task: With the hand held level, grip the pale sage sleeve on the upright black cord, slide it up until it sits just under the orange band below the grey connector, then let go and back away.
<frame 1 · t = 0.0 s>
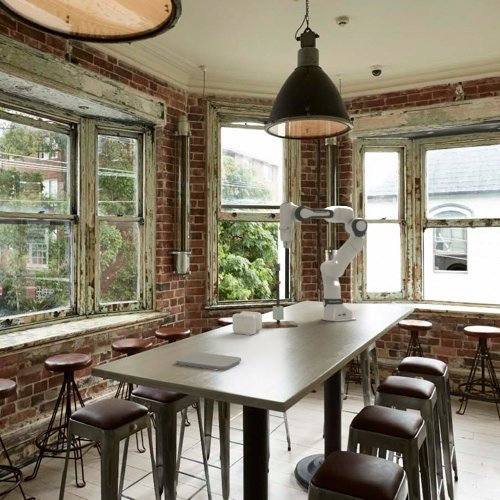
hand: (286, 248, 297), 48 cm above the table, tool pointing down, fingers open, 8 cm apart
tablet: (209, 364, 199), on the table
sleeve: (278, 312, 283), point 8 cm above the table, slide at 0.0 cm
cable organizer: (247, 333, 262), on the table
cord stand: (278, 325, 283), on the table
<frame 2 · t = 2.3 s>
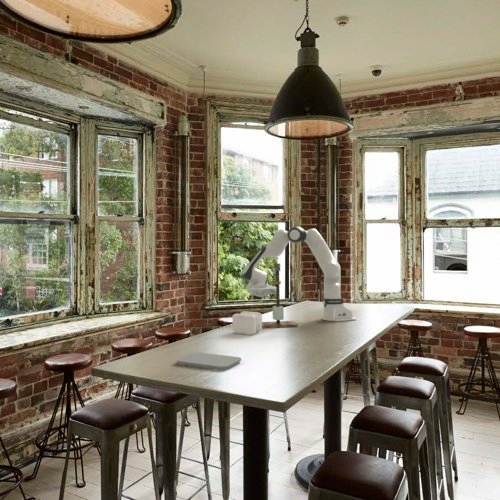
hand: (269, 292, 294), 20 cm above the table, tool horizontal, fingers open, 8 cm apart
nothing on the table moved.
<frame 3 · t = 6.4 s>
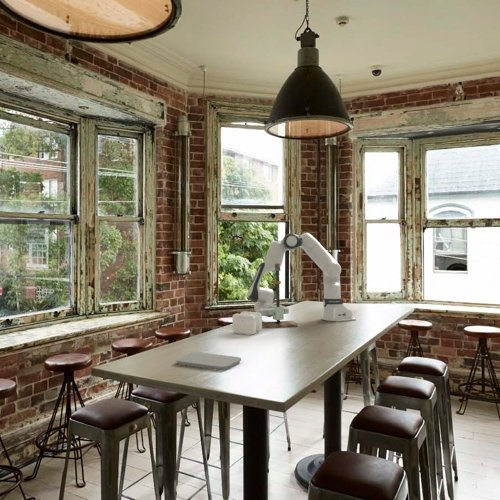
hand: (278, 313, 282), 8 cm above the table, tool horizontal, fingers closed on sleeve, 5 cm apart
sleeve: (278, 312, 283), point 8 cm above the table, slide at 0.0 cm, touching gripper
everything else where it was.
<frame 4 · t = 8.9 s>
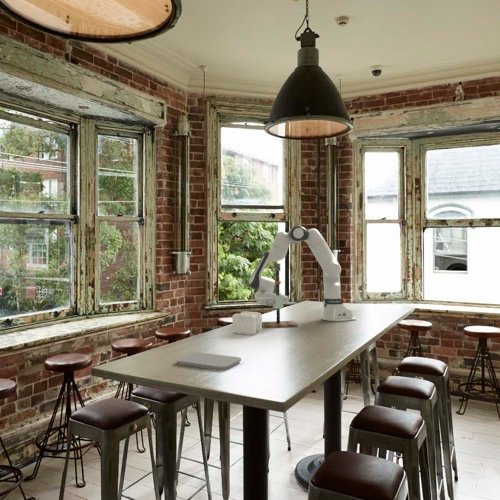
hand: (278, 301, 282), 15 cm above the table, tool horizontal, fingers closed on sleeve, 5 cm apart
sleeve: (278, 301, 283), point 15 cm above the table, slide at 7.1 cm, touching gripper
everything else where it was.
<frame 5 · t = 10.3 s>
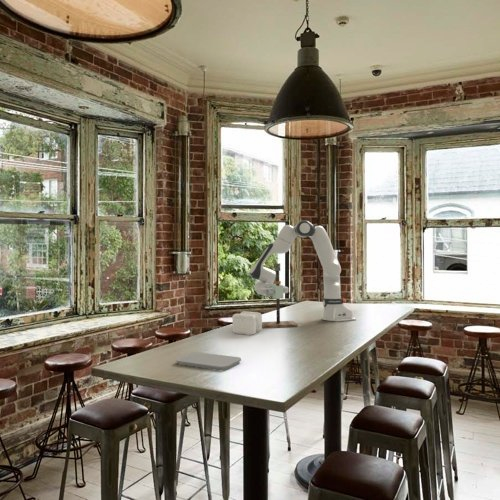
hand: (278, 291, 282), 21 cm above the table, tool horizontal, fingers closed on sleeve, 5 cm apart
sleeve: (277, 291, 282), point 21 cm above the table, slide at 13.2 cm, touching gripper
everything else where it was.
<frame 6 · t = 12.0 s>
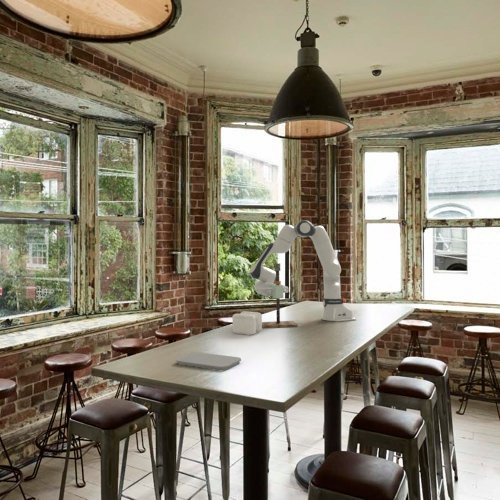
hand: (278, 291, 282), 21 cm above the table, tool horizontal, fingers open, 8 cm apart
sleeve: (277, 291, 282), point 21 cm above the table, slide at 13.4 cm
everything else where it was.
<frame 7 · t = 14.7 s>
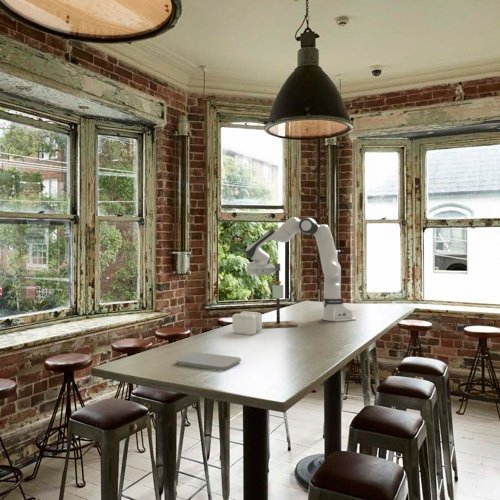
hand: (269, 270, 293), 34 cm above the table, tool horizontal, fingers open, 8 cm apart
nothing on the table moved.
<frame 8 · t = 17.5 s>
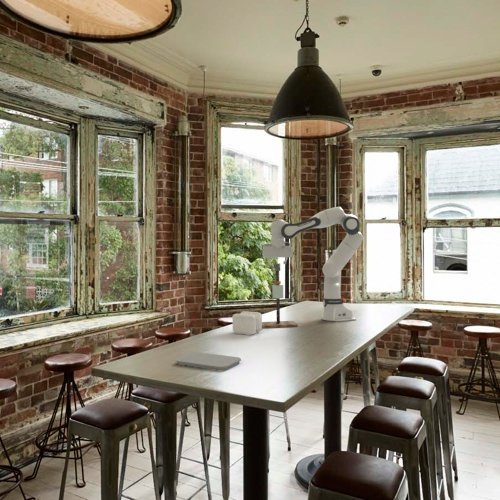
hand: (277, 264, 305), 37 cm above the table, tool pointing down, fingers open, 8 cm apart
nothing on the table moved.
at the end: sleeve slide at 13.4 cm; the gripper is holding nothing; cable organizer moved 0.3 cm from its start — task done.
